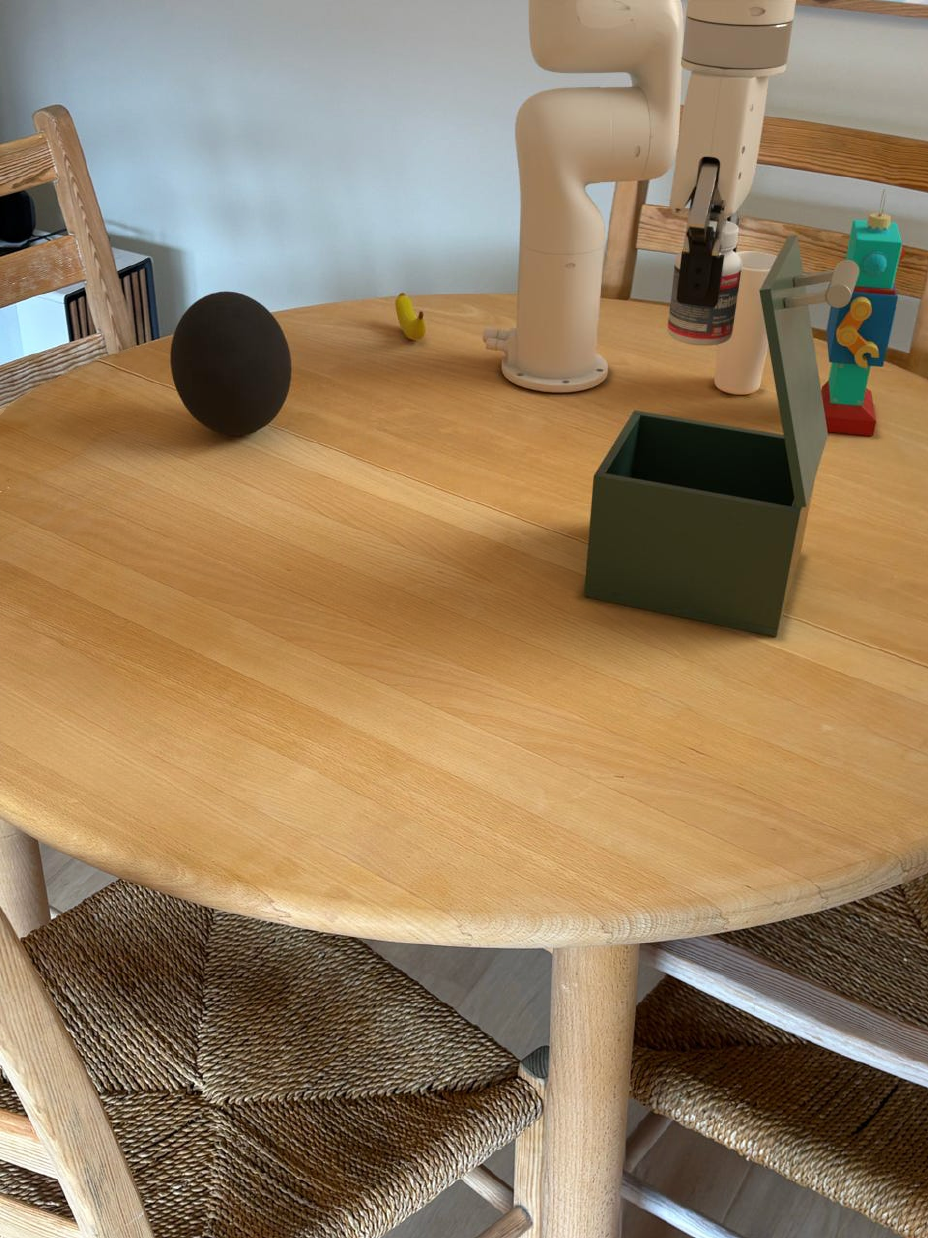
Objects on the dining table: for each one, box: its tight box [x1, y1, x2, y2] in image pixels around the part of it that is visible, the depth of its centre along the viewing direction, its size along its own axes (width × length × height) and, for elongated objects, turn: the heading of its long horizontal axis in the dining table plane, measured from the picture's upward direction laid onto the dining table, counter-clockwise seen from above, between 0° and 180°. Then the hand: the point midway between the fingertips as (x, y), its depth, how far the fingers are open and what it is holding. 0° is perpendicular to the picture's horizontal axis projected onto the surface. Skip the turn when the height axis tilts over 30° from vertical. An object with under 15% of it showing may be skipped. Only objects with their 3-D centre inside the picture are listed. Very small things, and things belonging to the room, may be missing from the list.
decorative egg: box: [169, 290, 293, 437], centre depth 130 cm, size 12×12×15 cm
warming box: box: [583, 409, 816, 638], centre depth 107 cm, size 17×14×12 cm
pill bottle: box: [667, 221, 742, 347], centre depth 99 cm, size 5×5×9 cm
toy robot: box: [821, 188, 906, 437], centre depth 132 cm, size 12×6×25 cm, turn 168°
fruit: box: [394, 292, 427, 341], centre depth 155 cm, size 10×2×5 cm, turn 17°
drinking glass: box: [713, 250, 778, 396], centre depth 141 cm, size 7×7×15 cm
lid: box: [759, 234, 859, 508], centre depth 97 cm, size 17×14×6 cm
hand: (704, 289), depth 99 cm, fingers closed on pill bottle, 5 cm apart
